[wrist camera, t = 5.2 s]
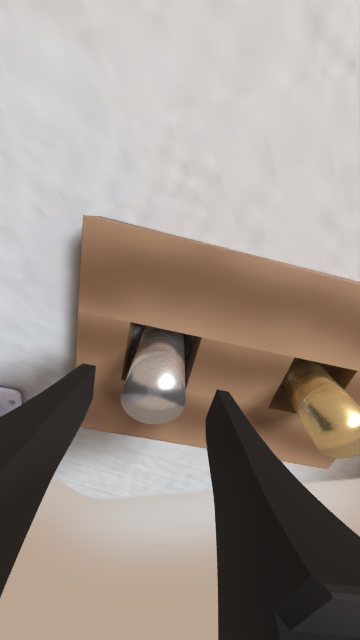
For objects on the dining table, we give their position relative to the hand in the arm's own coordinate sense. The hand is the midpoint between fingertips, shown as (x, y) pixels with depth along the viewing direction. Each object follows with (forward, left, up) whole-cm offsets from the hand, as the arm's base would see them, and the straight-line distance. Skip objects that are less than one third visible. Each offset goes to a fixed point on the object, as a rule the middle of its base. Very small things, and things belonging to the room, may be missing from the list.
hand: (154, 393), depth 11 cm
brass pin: (0, -10, -5) cm, 11 cm away
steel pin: (0, 0, -5) cm, 5 cm away
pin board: (0, -5, -5) cm, 7 cm away
